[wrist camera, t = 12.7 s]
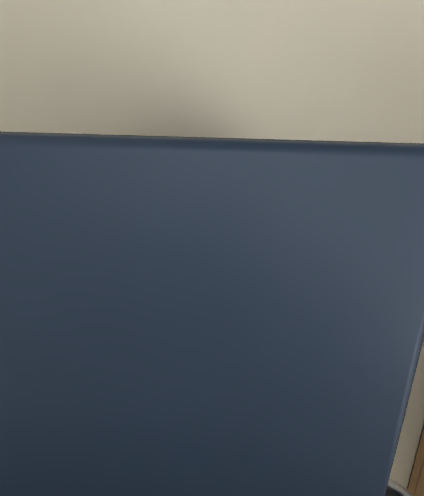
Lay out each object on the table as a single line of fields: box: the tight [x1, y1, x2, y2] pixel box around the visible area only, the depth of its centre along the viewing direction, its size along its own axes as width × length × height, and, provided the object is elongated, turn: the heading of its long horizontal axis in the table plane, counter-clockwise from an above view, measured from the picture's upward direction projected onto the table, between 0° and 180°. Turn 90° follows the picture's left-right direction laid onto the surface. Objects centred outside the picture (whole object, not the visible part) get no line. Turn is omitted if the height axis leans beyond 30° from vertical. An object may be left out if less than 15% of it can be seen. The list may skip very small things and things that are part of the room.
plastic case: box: [0, 132, 424, 496], centre depth 7 cm, size 5×12×7 cm, turn 178°
